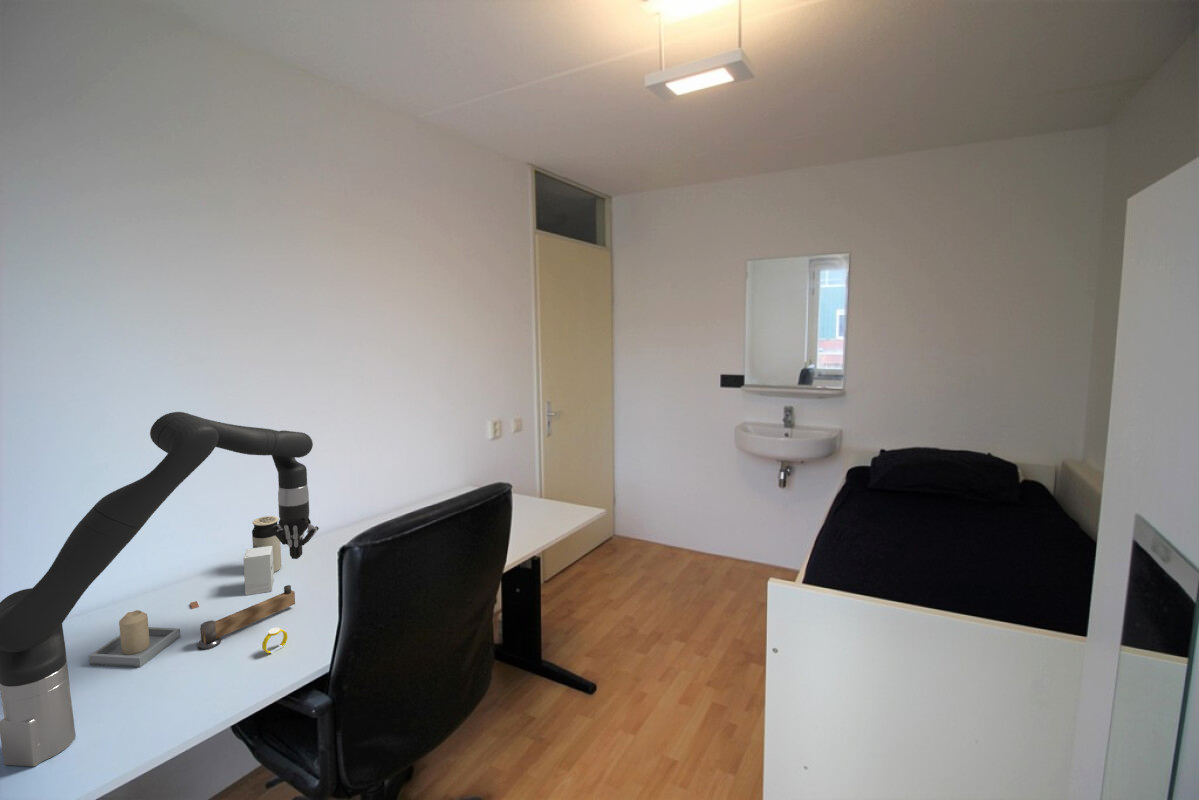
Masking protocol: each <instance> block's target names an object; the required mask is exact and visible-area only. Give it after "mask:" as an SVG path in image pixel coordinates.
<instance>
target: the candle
mask: <svg viewBox="0 0 1199 800" xmlns="http://www.w3.org/2000/svg"><path fill="white" fill-rule="evenodd" d="M118 626H119V635H120V637H121V648H122V653H123V654H125V655H132V654H136V653H139V652H142V651H144V650H146V649H147V648H148V647H149V645H150V639H149V628H148V627H149V618H148V613H146V612H145V611H141V610H137V609H136V610H133V611H128V612H127V613H126V614H125V615H123V617H122V618H121V619H119V621H118Z"/></svg>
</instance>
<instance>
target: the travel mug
mask: <svg viewBox="0 0 1199 800" xmlns="http://www.w3.org/2000/svg"><path fill="white" fill-rule="evenodd" d="M278 522H279V517H278V516H275V515H274V516H273V515H269V516H266V515H265V516H262V517H258V518H256V519H253V520H252V522H251V523H252V525H253V529H252V530H251V535H252V536H251V537H252V548H258V547H266V546H272V547H273V568H274V573H275V572H278V571H279V570H280V569H282V552H281V551H282V549H281V548H282V547H281V542H280V540H279V539H278V538H277V537H276V536H275V534H274V533H273V532H272V531H271V528H272V527H274V526H275V525H277V524H278Z"/></svg>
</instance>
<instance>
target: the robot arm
mask: <svg viewBox="0 0 1199 800" xmlns="http://www.w3.org/2000/svg"><path fill="white" fill-rule="evenodd" d="M149 436H150V440H151V442H153V444H154V445H155V446H156V447H157V448H159V449H160V450H161V451H163V452H165V453H166V455H165V456H164V458H163V459H162V460H161V461H160V462H159V463H158V464H157V465H156V467H154V468H153V469H152V470H151V471H150V472H149V473H147V474H146V475H145V476H143V477H141V478H139V479H137V480H136V481H133V482H131V483H129V484H126V485H125V486H122V487H120V488H117V489H116V490H113V491H111V492H110V493H108V494H106V495H104V496H103V497H102V498H100V499H99V500H98V501H97V502H96V503H95V504H94V505H93V507H92V508H91V509H90V510H89V511H88V512H87V513H86V514H85V515H84V516H83V518H81V520H80V521H79V522H78V523H77V524H76V526H75V527H74V528H73V530H72V531H71V533H70V534H69V536H68V537H67V539H66V540H65V542H64V543H63V545H62V547H61V549H60V550H59V552H58V554H57V556H56V557H55V559H54V561H53V563H52V564H51V565H50V567H49V569H48V570H47V571H46V573H45V574H44V575H43V576H42V577H41V579H39V581H37V583H36V584H35V585H34V586H33V587H31V588H25V589H24V588H23V589H21V590H18V591H16V592H12V593H11V594H9V595H7V596H6V597H5V598H3V599H2V600H1V601H0V699H1V704H2V705H1V706H2V712H3V718H1V720H0V743H1V751H2V757H3V758H2V759H3V764H4V765H5V766H19V767H36V766H38V765H39V764H40V763H42V762H44V761H46V760H48V759H50V758H53V757H55V756H57V755H59V754H60V753H61V752H63V751H64V750H66V749H67V748H68V747H69V746H71V745H72V744H73V742H74V740H75V739H76V729H75V720H74V710H73V701H72V695H71V687H70V678H69V669H68V660H67V651H66V642H65V641H66V640H65V635H64V628H63V623H64V621H65V620H66V619H67V617H68V616H69V614H71V611H72V610H73V608H74V607H75V606H76V604H77V603H78V601H79V600H80V599H81V597H82V596H83V595H84V593H85V592H86V591H87V590H88V589H89V587H90V586H91V585H92V584H93V583H94V581H95V580H96V579H97V578H98V577H99V576H100V575H101V574H102V573H103V572H104V571H105V570H106V569H107V567H108V566H109V565H110V564H111V563H112V562H113V561H114V560H115V559H116V557H118V556H119V554H120V553H121V552H122V550H124V548H125V547H126V546H127V545H128V544H129V543H130V542H131V541H132V540H133V539H134V537H136V535H137V534H138V533H139V532H140V530H141V529H142V528H143V527H144V525H145V524H146V523H147V521H149V520H150V518H151V517H152V515H153V514H154V513H156V511H157V509H159V508H160V506H161V505H163V503H164V502H165V501H166V500H167V499H168V498H169V497H170V495H171V494H172V493H173V492H174V491H175V490H176V489H177V488H178V487H179V486H180V485H181V484H182V483H183V482H184V481H185V480H186V479H187V478H188V477H189V476H190V475H191V474H192V473H194V472H195V470H197V468H198V467H200V466H201V465H202V464H203V463H204V461H206V459H207V458H209V456H210V455H211V454H212V453H213V451H214V450H215V448H218V449H223V450H227V451H231V452H233V453H236V454H237V453H238V454H242V455H250V456H271V457H272V460H273V464H274V466H275V469H276V470H277V478H278V491H277V501H278V523H277V525H275V526H274V527H272V528H271V531H272V532H273V533H274V534H275V536H276V537H277V538H278V539H279V540H280V544H282V545H287V546H288V547H289V556H290V557H291V560H298V559H299V558H301V556H302V555H303V546H305V545H306V544H307V543H308V542H310V541H311V539H312V538H313V537H314V535H315V534H316V533H317V532H318V531H319V529H320V528H319V526H317V525H316V526H314V524H311V523H312V522H311V520H310V495H309V494H310V493H309V487H308V471H307V470H308V469H307V466H306V465H305V464H303V463H301V462H299V461H297V459H296V458H298V459H299V458H303V457H306V456H307V455H309V454H310V452H311V451H312V449H313V445H314V443H313V439H312V438H311V436H310V435H309V434H307V433H305V432H301V431H291V430H275V429H272V428H271V429H270V428H264V427H253V426H245V425H237V424H232V423H225V422H221V421H217V420H216V421H215V420H211V419H208V418H204V417H201V416H198V415H194V414H191V413H188V412H184V411H172V412H169V413H166V414H163V415H161V416H160V417H159V418H158V419H156V420H155V422H154V423H153V424H152V426H151V427H150V431H149ZM306 530H307V531H306ZM305 533H306V535H305Z"/></svg>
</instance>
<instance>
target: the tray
mask: <svg viewBox="0 0 1199 800" xmlns="http://www.w3.org/2000/svg"><path fill="white" fill-rule="evenodd" d="M148 628H149V639H150V645H149V647H148V648H147V649H146V650H144V651H142V652H139V653H136V654H132V655H125V654H123V653H122V648H121V637H120V634H119V635H118V636H116V637H115V638H114V639H112V640H110V641H109V642H107V643H106V644H104V645H103V646H102V647H99V648H98V649H97V650H95V651H93V652H92V653H91V654H89V655H88V657H89V658H88V659H89V665H90V666H92V665H93V666H105V667H107V666H109V667H127V668H129V667H130V668H142V667H143V666H144V665H146V664H147V663H148V662H149V661H151V660H152V659H153V658H155V657H157V655H159V654H160V653H161V652H163V651H164V650H166V649H167V648H168V647H169V646H171V645H172V644H173V643H174V642H176V641H177V640H179V639H180V638H181V631H180V628H171V627H158V626H156V627H154V626H148Z"/></svg>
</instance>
